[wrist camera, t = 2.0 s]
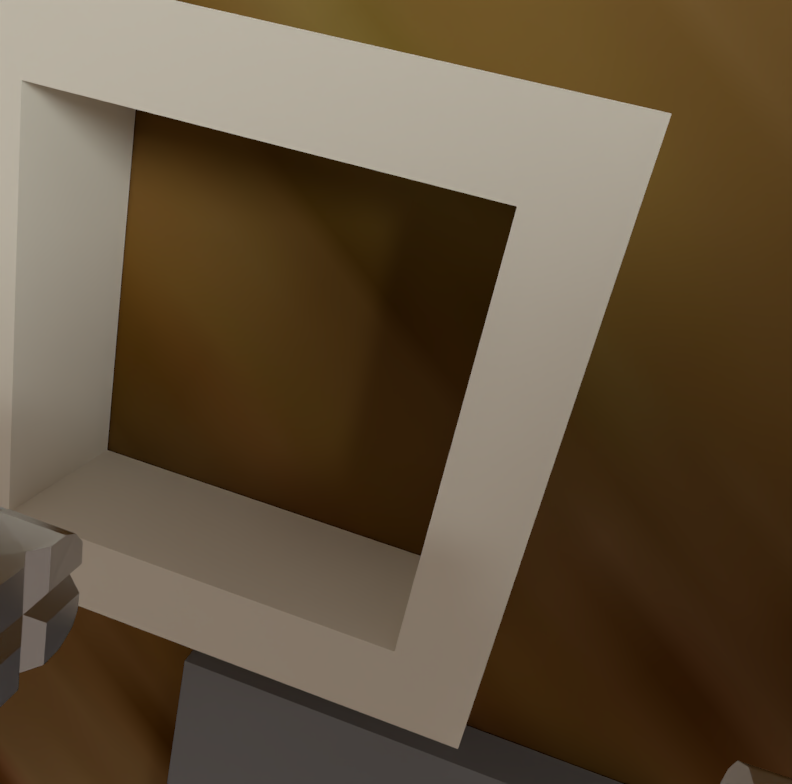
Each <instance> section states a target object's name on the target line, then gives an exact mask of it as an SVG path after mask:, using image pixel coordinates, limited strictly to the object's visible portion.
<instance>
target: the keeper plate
mask: <svg viewBox="0 0 792 784" xmlns="http://www.w3.org/2000/svg"><path fill="white" fill-rule="evenodd" d="M167 784H623V783H620V782H617V781H615V780H612V779H609V778H607V777H604V776H601V775H599V774H596V773H593V772H591V771H588V770H585V769H582V768H580V767H577V766H574V765H572V764H569V763H566V762H564V761H561V760H558V759H556V758H553V757H550V756H548V755H545V754H542V753H539V752H537V751H534V750H531V749H529V748H526V747H523V746H521V745H518V744H515V743H513V742H510V741H507V740H504V739H502V738H499V737H496V736H494V735H491V734H488V733H486V732H483V731H480V730H478V729H475V728H472V727H470V726H467V725H466V727H465V730H464V733H463V736H462V739H461V742H460V745H459V748H458V749H456V748H454V747H451V746H448V745H446V744H443V743H440V742H438V741H435V740H432V739H430V738H427V737H425V736H422V735H419V734H417V733H414V732H411V731H409V730H406V729H403V728H401V727H398V726H395V725H393V724H390V723H387V722H385V721H382V720H379V719H377V718H374V717H372V716H369V715H366V714H364V713H361V712H358V711H356V710H353V709H350V708H348V707H345V706H342V705H340V704H337V703H334V702H332V701H329V700H327V699H324V698H321V697H319V696H316V695H313V694H311V693H308V692H305V691H303V690H300V689H297V688H295V687H292V686H289V685H287V684H284V683H282V682H279V681H276V680H274V679H271V678H268V677H266V676H263V675H260V674H258V673H255V672H252V671H250V670H247V669H244V668H242V667H239V666H236V665H234V664H231V663H229V662H226V661H223V660H221V659H218V658H215V657H213V656H210V655H207V654H205V653H202V652H199V651H197V650H193V651H192V652H191V653H190V655H189V656H188V657H187V659H186V660H185V662H184V669H183V676H182V683H181V690H180V697H179V704H178V711H177V718H176V725H175V732H174V739H173V746H172V753H171V760H170V767H169V774H168V780H167Z"/></svg>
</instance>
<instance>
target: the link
mask: <svg viewBox="0 0 792 784" xmlns="http://www.w3.org/2000/svg"><path fill="white" fill-rule="evenodd" d="M136 109H137V110H141V111H145V112H148V113H152V114H156V115H160V116H164V117H168V118H172V119H176V120H180V121H184V122H188V123H192V124H195V125H199V126H203V127H207V128H211V129H215V130H219V131H223V132H227V133H231V134H235V135H238V136H242V137H246V138H250V139H254V140H258V141H262V142H266V143H270V144H274V145H278V146H282V147H285V148H289V149H293V150H297V151H301V152H305V153H309V154H313V155H317V156H321V157H325V158H329V159H332V160H336V161H340V162H344V163H348V164H352V165H356V166H360V167H364V168H368V169H372V170H375V171H379V172H383V173H387V174H391V175H395V176H399V177H403V178H407V179H411V180H415V181H419V182H422V183H426V184H430V185H434V186H438V187H442V188H446V189H450V190H454V191H458V192H462V193H465V194H469V195H473V196H477V197H481V198H485V199H489V200H493V201H497V202H501V203H505V204H509V205H512V206H516V207H517V208H516V212H515V215H514V219H513V223H512V226H511V230H510V233H509V237H508V241H507V244H506V248H505V252H504V255H503V259H502V263H501V266H500V270H499V273H498V277H497V281H496V284H495V288H494V292H493V295H492V299H491V303H490V306H489V310H488V313H487V317H486V321H485V324H484V328H483V332H482V335H481V339H480V342H479V346H478V350H477V353H476V357H475V361H474V364H473V368H472V372H471V375H470V379H469V382H468V386H467V390H466V393H465V397H464V401H463V404H462V408H461V411H460V415H459V419H458V422H457V426H456V430H455V433H454V437H453V441H452V444H451V448H450V451H449V455H448V459H447V462H446V466H445V470H444V473H443V477H442V480H441V484H440V488H439V491H438V495H437V499H436V502H435V506H434V510H433V513H432V517H431V520H430V524H429V528H428V531H427V535H426V539H425V542H424V546H423V549H422V553H421V556H420V555H417V554H414V553H411V552H408V551H405V550H402V549H399V548H396V547H393V546H390V545H387V544H384V543H381V542H378V541H375V540H372V539H369V538H366V537H363V536H360V535H357V534H354V533H352V532H349V531H346V530H343V529H340V528H337V527H334V526H331V525H328V524H325V523H322V522H319V521H316V520H313V519H310V518H307V517H304V516H301V515H298V514H295V513H292V512H289V511H286V510H283V509H281V508H278V507H275V506H272V505H269V504H266V503H263V502H260V501H257V500H254V499H251V498H248V497H245V496H242V495H239V494H236V493H233V492H230V491H227V490H224V489H221V488H218V487H215V486H212V485H210V484H207V483H204V482H201V481H198V480H195V479H192V478H189V477H186V476H183V475H180V474H177V473H174V472H171V471H168V470H165V469H162V468H159V467H156V466H153V465H150V464H147V463H144V462H141V461H139V460H136V459H133V458H130V457H127V456H124V455H121V454H118V453H115V452H112V451H109V450H107V447H108V435H109V423H110V411H111V399H112V388H113V376H114V364H115V352H116V340H117V328H118V316H119V304H120V292H121V280H122V268H123V256H124V244H125V232H126V220H127V208H128V196H129V184H130V172H131V160H132V148H133V136H134V124H135V112H136ZM670 117H671V113H667V112H663V111H658V110H654V109H650V108H645V107H641V106H636V105H632V104H628V103H623V102H619V101H614V100H610V99H606V98H601V97H597V96H592V95H588V94H584V93H579V92H575V91H570V90H566V89H562V88H557V87H553V86H549V85H544V84H540V83H535V82H531V81H527V80H522V79H518V78H513V77H509V76H505V75H500V74H496V73H491V72H487V71H483V70H478V69H474V68H470V67H465V66H461V65H456V64H452V63H448V62H443V61H439V60H434V59H430V58H426V57H421V56H417V55H412V54H408V53H404V52H399V51H395V50H390V49H386V48H382V47H377V46H373V45H369V44H364V43H360V42H355V41H351V40H347V39H342V38H338V37H333V36H329V35H325V34H320V33H316V32H311V31H307V30H303V29H298V28H294V27H290V26H285V25H281V24H276V23H272V22H268V21H263V20H259V19H254V18H250V17H246V16H241V15H237V14H232V13H228V12H224V11H219V10H215V9H210V8H206V7H202V6H197V5H193V4H189V3H184V2H180V1H175V0H0V506H1V507H3V508H5V509H10V510H13V511H16V512H18V513H21V514H24V515H27V516H29V517H32V518H35V519H37V520H40V521H43V522H46V523H48V524H51V525H54V526H56V527H59V528H62V529H64V530H67V531H70V532H73V533H75V534H77V536H78V537H79V538H80V539H81V540H82V541H83V547H82V564H81V565H80V566H79V567H77V568H76V569H75V570H74V571H73V572H72V573H71V574H70V576H71V578H72V580H73V581H74V583H75V585H76V587H77V589H78V591H79V602H78V606H80V607H83V608H86V609H88V610H91V611H93V612H96V613H99V614H101V615H104V616H107V617H109V618H112V619H115V620H117V621H120V622H123V623H125V624H128V625H131V626H133V627H136V628H138V629H141V630H144V631H146V632H149V633H152V634H154V635H157V636H160V637H162V638H165V639H168V640H170V641H173V642H176V643H178V644H181V645H184V646H186V647H189V648H191V649H194V650H197V651H199V652H202V653H205V654H207V655H210V656H213V657H215V658H218V659H221V660H223V661H226V662H229V663H231V664H234V665H236V666H239V667H242V668H244V669H247V670H250V671H252V672H255V673H258V674H260V675H263V676H266V677H268V678H271V679H274V680H276V681H279V682H282V683H284V684H287V685H289V686H292V687H295V688H297V689H300V690H303V691H305V692H308V693H311V694H313V695H316V696H319V697H321V698H324V699H327V700H329V701H332V702H334V703H337V704H340V705H342V706H345V707H348V708H350V709H353V710H356V711H358V712H361V713H364V714H366V715H369V716H372V717H374V718H377V719H379V720H382V721H385V722H387V723H390V724H393V725H395V726H398V727H401V728H403V729H406V730H409V731H411V732H414V733H417V734H419V735H422V736H425V737H427V738H430V739H432V740H435V741H438V742H440V743H443V744H446V745H448V746H451V747H454V748H456V749H458V748H459V745H460V742H461V739H462V736H463V733H464V730H465V727H466V724H467V721H468V718H469V715H470V712H471V709H472V706H473V703H474V700H475V697H476V694H477V691H478V688H479V685H480V682H481V679H482V676H483V673H484V670H485V667H486V664H487V661H488V658H489V655H490V652H491V649H492V646H493V643H494V640H495V637H496V634H497V632H498V629H499V626H500V623H501V620H502V617H503V614H504V611H505V608H506V605H507V602H508V599H509V596H510V593H511V590H512V587H513V584H514V581H515V578H516V575H517V572H518V569H519V566H520V563H521V560H522V557H523V554H524V551H525V548H526V545H527V542H528V539H529V536H530V533H531V530H532V527H533V524H534V521H535V518H536V515H537V513H538V510H539V507H540V504H541V501H542V498H543V495H544V492H545V489H546V486H547V483H548V480H549V477H550V474H551V471H552V468H553V465H554V462H555V459H556V456H557V453H558V450H559V447H560V444H561V441H562V438H563V435H564V432H565V429H566V426H567V423H568V420H569V417H570V414H571V411H572V408H573V405H574V402H575V399H576V397H577V394H578V391H579V388H580V385H581V382H582V379H583V376H584V373H585V370H586V367H587V364H588V361H589V358H590V355H591V352H592V349H593V346H594V343H595V340H596V337H597V334H598V331H599V328H600V325H601V322H602V319H603V316H604V313H605V310H606V307H607V304H608V301H609V298H610V295H611V292H612V289H613V286H614V283H615V280H616V278H617V275H618V272H619V269H620V266H621V263H622V260H623V257H624V254H625V251H626V248H627V245H628V242H629V239H630V236H631V233H632V230H633V227H634V224H635V221H636V218H637V215H638V212H639V209H640V206H641V203H642V200H643V197H644V194H645V191H646V188H647V185H648V182H649V179H650V176H651V173H652V170H653V167H654V164H655V162H656V159H657V156H658V153H659V150H660V147H661V144H662V141H663V138H664V135H665V132H666V129H667V126H668V123H669V120H670Z"/></svg>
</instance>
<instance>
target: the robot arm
mask: <svg viewBox="0 0 792 784" xmlns="http://www.w3.org/2000/svg"><path fill="white" fill-rule="evenodd" d="M82 547H83V541H82V540H81V539H80V538H79V537H78V536H77V534H75V533H73V532H70V531H67V530H64V529H62V528H59V527H56V526H54V525H51V524H48V523H46V522H43V521H40V520H37V519H35V518H32V517H29V516H27V515H24V514H21V513H18V512H16V511H13V510H10V509H5V508H3V507H1V506H0V707H1V706H2V705H3V704H4V703H5V702H6V701H7V700H8V699H9V698H10V697H11V696H12V695H13V694H14V693H15V692H16V691H17V690H18V685H19V673H21V672H24V671H27V670H30V669H33V668H36V667H39V666H42V665H44V664H45V663H46V662H47V661H48V660H49V659H50V658H51V657H52V656H53V655H54V654H55V653H56V652H57V650H58V649H59V648H60V647H61V645H62V643H63V642H64V640H65V638H66V637H67V635H68V633H69V632H70V630H71V628H72V626H73V623H74V620H75V616H76V613H77V610H78V602H79V591H78V589H77V587H76V585H75V583H74V581H73V580H72V578H71V576H70V574H71V573H72V572H73V571H74V570H75V569H76V568H77V567H79V566H80V565H81V564H82ZM720 784H792V778H789V777H786V776H783V775H780V774H777V773H774V772H771V771H768V770H765V769H762V768H759V767H756V766H753V765H750V764H747V763H744V762H741V761H737V762H735V763H734V764H733V765H732V766H731V767H730V768H728V770H727V772H726V774H725V776H724V778H723V779H722V781H721V783H720Z"/></svg>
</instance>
